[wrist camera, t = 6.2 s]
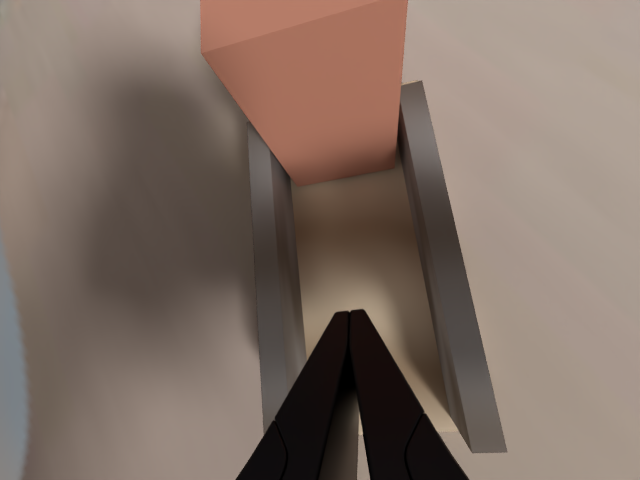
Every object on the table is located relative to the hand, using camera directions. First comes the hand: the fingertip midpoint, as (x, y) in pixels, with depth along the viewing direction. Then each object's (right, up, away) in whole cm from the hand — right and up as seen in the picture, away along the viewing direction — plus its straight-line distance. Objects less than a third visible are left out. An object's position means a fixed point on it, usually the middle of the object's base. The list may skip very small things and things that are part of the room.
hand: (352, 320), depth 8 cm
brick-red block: (0, +8, +7) cm, 11 cm away
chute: (+1, +2, +7) cm, 7 cm away
